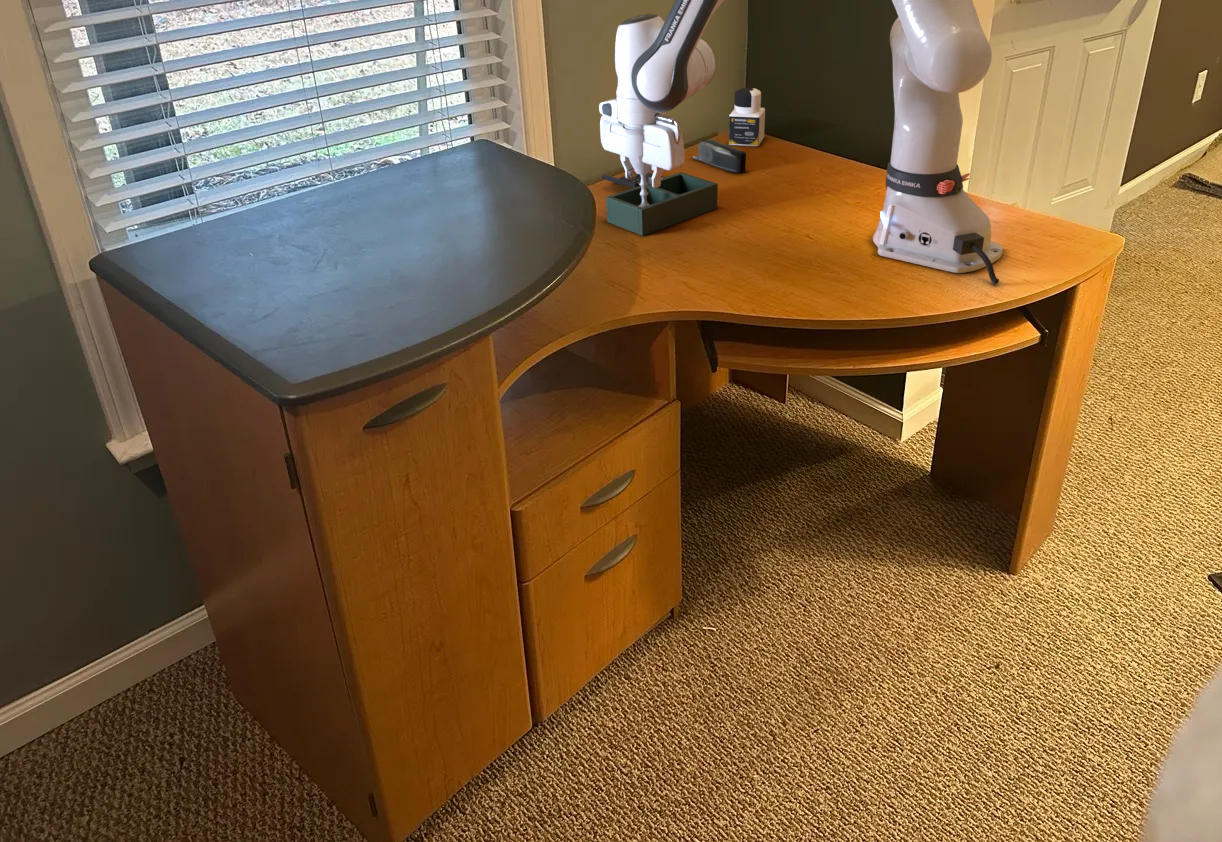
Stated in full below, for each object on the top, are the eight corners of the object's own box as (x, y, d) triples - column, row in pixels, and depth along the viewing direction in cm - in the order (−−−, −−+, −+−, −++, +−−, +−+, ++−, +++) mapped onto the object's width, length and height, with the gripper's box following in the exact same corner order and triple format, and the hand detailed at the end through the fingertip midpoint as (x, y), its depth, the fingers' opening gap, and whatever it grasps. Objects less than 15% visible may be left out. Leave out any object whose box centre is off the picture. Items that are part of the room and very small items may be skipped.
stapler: (748, 150, 212) (700, 134, 221) (738, 153, 210) (690, 137, 220) (747, 172, 214) (700, 156, 224) (737, 176, 213) (690, 159, 223)
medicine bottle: (728, 145, 231) (729, 93, 224) (734, 136, 237) (736, 85, 230) (758, 146, 229) (760, 94, 222) (764, 137, 234) (766, 86, 228)
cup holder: (717, 208, 196) (717, 183, 194) (642, 236, 186) (641, 210, 183) (681, 196, 203) (681, 171, 201) (607, 222, 193) (605, 197, 190)
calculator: (671, 182, 211) (671, 168, 209) (634, 197, 204) (634, 183, 202) (638, 174, 216) (638, 160, 215) (602, 188, 210) (601, 174, 208)
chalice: (651, 226, 188) (647, 131, 178) (620, 221, 191) (615, 128, 181) (669, 213, 193) (666, 121, 183) (639, 209, 196) (635, 118, 186)
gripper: (692, 115, 175) (692, 190, 183) (618, 96, 189) (621, 167, 196) (666, 123, 172) (667, 199, 179) (593, 103, 186) (596, 174, 193)
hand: (642, 182), depth 188 cm, fingers closed on chalice, 5 cm apart
